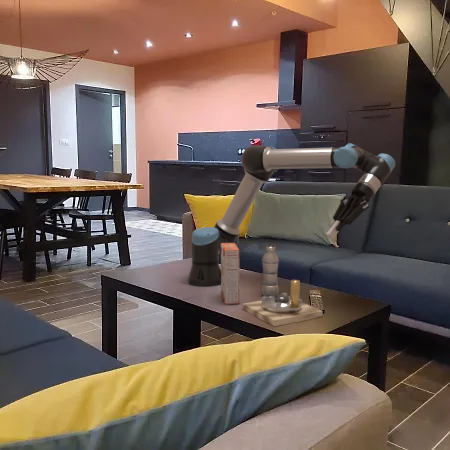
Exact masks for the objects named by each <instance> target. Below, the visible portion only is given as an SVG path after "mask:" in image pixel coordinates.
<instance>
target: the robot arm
mask: <svg viewBox="0 0 450 450" xmlns="http://www.w3.org/2000/svg"><path fill="white" fill-rule="evenodd" d="M240 158H241V160H240V161H241V164H242V167H243V170H244V173H245V175H244V176H243V178H242V180H241V181H240V184H239V186H238V188H237V190H236V192H235V193H234V196H233V197H232V199H231V201H230V203H229V204H228V207H227V208H226V210H225V213H224V215H223V217H222V218H221V219H217V221H216V223H215V224H214V227H211V226H210V227H209V226H208V227H207V226H205V227H200V228H197V229H195V230H193V231H192V234H191V267H190V270H189V274H188V278H187V279H188V281H187V283H188V282H189V283H190V285H192V286H196V287H214V286H218V285H221V266H220V263H219V261H220V260H219V259H220V256H221V243H235V244H236V246H237V245H238V244H239V239H240V238H239V235H240V233H241V231H240V227H241V225H242V223H243V221H244V219H245V217H246V215H247V214H248V212H249V209H250V208H251V206H252V204H253V202H254V201H255V199H256V197H257V195H258V193H259V192H260V190H261V188H262V186H263V184H266V183H268V182H269V181H270V179H271V177H272V175H273V174H274V173H276V172H277V171H278V170H281V169H282V170H283V169H286V170H287V169H289V170H290V169H350V168H351V169H356V170H358V171H360V172H361V173H363V175H362V176H361V177H360V179H359V180H358V181H357V183H356V184H355V185H354V187H353V188H352V189H351V195H349V196H348V197H347V198H346V199H344V198H342V199H341V200H340V203H339V205H338V207H337V209H336V210H335V213H334V215H333V216H332V220H334V222H333V223H332V224H331V226H330V228H329V229H328V230H327V232H326V233H325V235H327V237H328V238H329V239H330V240H334V239H335V238H336V236H337V234H338V233H339V232H341V231H342V229H343V228H344V227H345V226H347V225H348V226H350V225H351V224H352V223H354V221H356V220H357V218H358V217H359V216H360V215H361V214H362V213H364V212H365V211H366V210H368V209H369V207H370V205H369V204H368V203H369V202H370V201H371V200H372V199H373V197H374V195H375V194H376V193H377V191H379V189H380V187H382V186H383V183H385V181H386V179H388V177H389V176H390V174H391V173H392V171H393V169H394V168H395V167H396V160H395V159H394V158H393V156H391V155H389V154H387V153H385V152H384V153H379V154H378V155H375V154H373V153H370V152H369V151H366V150H365V149H362V148H361V147H360V146H358V145H356V144H353V143H347V144H346V145H345V146H340V147H339V146H338V147H306V148H278V149H277V148H275V147H273V146H270V145H258V144H257V145H256V144H255V145H250V146H247V148H245V150H243V152H242V154H241V157H240ZM237 247H238V246H237ZM219 255H220V256H219Z"/></svg>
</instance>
